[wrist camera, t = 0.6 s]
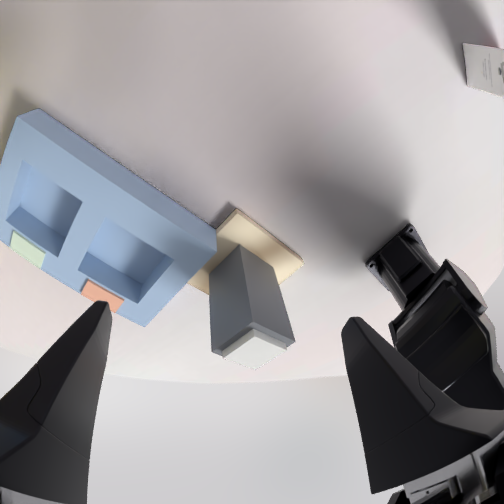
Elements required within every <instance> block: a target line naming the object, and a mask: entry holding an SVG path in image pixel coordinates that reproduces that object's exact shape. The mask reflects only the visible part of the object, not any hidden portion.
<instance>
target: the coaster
mask: <svg viewBox="0 0 504 504" xmlns="http://www.w3.org/2000/svg"><path fill="white" fill-rule="evenodd" d="M216 240H217V252H216V253H215V254H214V255H213V256H212V257H211V258H210V260H209V261H208V262H207V263H206V264H205V265H204V266H203V267H202V268H201V269H200V270H199V271H198V272H197V273H196V274H195V275H194V276H193V277H192V278H191V279H190V280H189V281H188V282H187V283H188V284H190V285H192V286H193V287H195V288H197V289H199V290H201V291H203V292H204V293H206V294H208V295H209V273H210V272H211V271H213V270H214V269H215V268H216V267H217V266H218V265H219V264H220V263H221V262H222V261H223V260H224V259H225V258H226V257H227V256H228V255H229V254H230V253H231V252H232V251H233V250H234V249H235V248H236V247H237V246H238V245H239V244H240V245H242V246H243V247H245V248H246V249H247V250H249V251H250V252H252V253H253V254H255V255H256V256H258V257H259V258H261V259H262V260H263V261H265V262H266V263H268V264H269V265H271V266H272V267H273V268H274V271H275V274H276V277H277V281H278V284H279V285H280V284H281V283H282V282H283V281H285V280H286V279H287V278H288V277H289V276H291V275H292V274H293V273H294V272H295V271H297V270H298V269H299V268H300V267H301V266H302V265H304V262H303V260H302V258H301V257H300V256H298V255H297V254H296V253H294V252H293V251H292V250H291V249H289V248H288V247H287V246H285V245H284V244H283V243H282V242H280V241H279V240H278V239H276V238H275V237H274V236H272V235H271V234H270V233H269V232H267V231H266V230H265V229H263V228H262V227H261V226H259V225H258V224H257V223H255V222H254V221H253V220H252V219H250V218H249V217H248V216H246V215H245V214H244V213H242V212H241V211H240V210H238V209H237V208H236V209H235V210H234V211H233V212H232V214H231V215H230V216H229V217H228V218H227V219H226V220H225V221H224V222H223V223H222V224H221V225H220V226H219V227H218V228H217V229H216Z"/></svg>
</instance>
